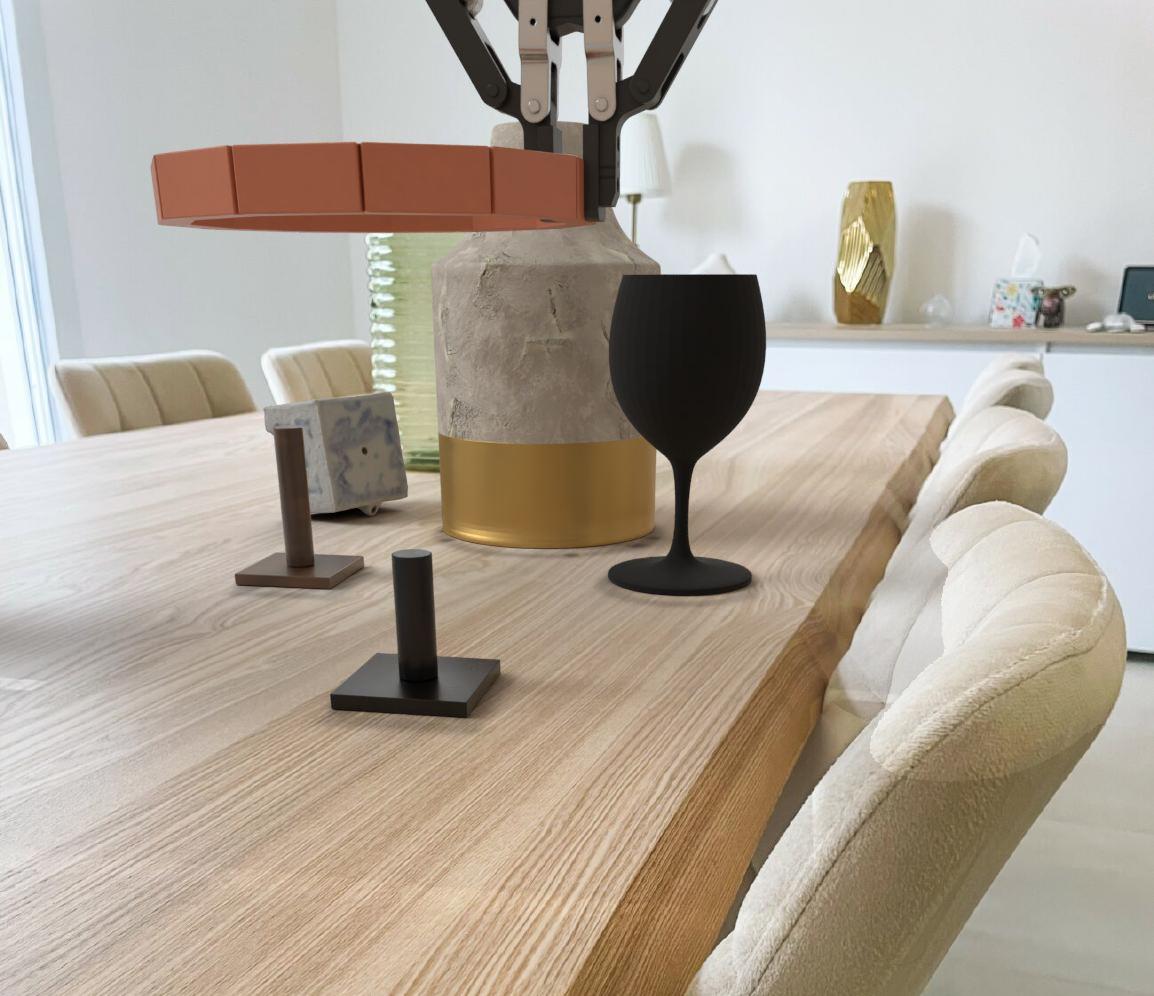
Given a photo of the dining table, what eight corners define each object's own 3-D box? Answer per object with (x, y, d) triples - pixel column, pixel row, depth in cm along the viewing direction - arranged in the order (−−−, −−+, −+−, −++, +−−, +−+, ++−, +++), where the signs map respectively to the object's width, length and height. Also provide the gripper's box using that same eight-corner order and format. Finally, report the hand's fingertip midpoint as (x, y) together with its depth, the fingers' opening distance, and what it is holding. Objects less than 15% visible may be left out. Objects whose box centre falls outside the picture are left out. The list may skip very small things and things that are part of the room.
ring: (68, 217, 46) (57, 149, 45) (269, 234, 63) (264, 186, 63) (545, 209, 43) (544, 136, 42) (618, 230, 60) (618, 179, 59)
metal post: (330, 709, 57) (318, 566, 55) (377, 666, 64) (368, 536, 61) (467, 717, 56) (461, 572, 53) (500, 673, 63) (497, 541, 60)
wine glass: (581, 570, 85) (581, 274, 77) (700, 555, 89) (712, 274, 81) (654, 602, 76) (662, 274, 68) (782, 584, 81) (803, 274, 73)
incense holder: (348, 500, 112) (339, 387, 108) (412, 508, 108) (405, 392, 104) (270, 515, 105) (258, 395, 100) (335, 525, 100) (325, 401, 96)
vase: (407, 540, 95) (382, 116, 83) (488, 501, 111) (477, 143, 99) (623, 554, 90) (629, 106, 78) (675, 512, 106) (687, 135, 94)
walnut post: (235, 584, 81) (217, 431, 77) (276, 562, 87) (261, 420, 83) (330, 589, 80) (316, 433, 76) (364, 566, 86) (354, 421, 82)
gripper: (371, -299, 43) (401, 220, 49) (742, -333, 40) (721, 215, 47) (429, -219, 49) (449, 227, 56) (750, -244, 47) (730, 223, 54)
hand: (573, 220), depth 52 cm, fingers closed on ring, 1 cm apart
